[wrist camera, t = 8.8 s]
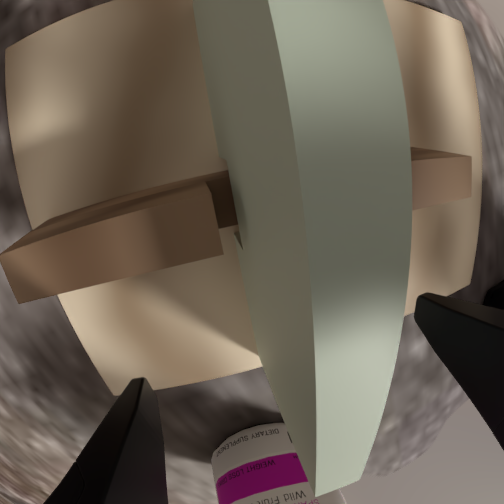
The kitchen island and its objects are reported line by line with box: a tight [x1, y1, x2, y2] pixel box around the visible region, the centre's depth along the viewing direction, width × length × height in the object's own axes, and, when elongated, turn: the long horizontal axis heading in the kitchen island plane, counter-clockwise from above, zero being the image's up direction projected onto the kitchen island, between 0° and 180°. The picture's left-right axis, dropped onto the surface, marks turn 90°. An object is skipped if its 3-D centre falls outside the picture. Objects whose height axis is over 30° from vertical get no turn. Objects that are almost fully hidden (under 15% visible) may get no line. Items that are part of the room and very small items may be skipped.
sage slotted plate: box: [193, 0, 412, 497], centre depth 7 cm, size 16×2×8 cm, turn 9°
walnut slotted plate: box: [0, 147, 472, 304], centre depth 9 cm, size 16×2×4 cm, turn 99°
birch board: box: [5, 0, 482, 396], centre depth 12 cm, size 24×18×1 cm
